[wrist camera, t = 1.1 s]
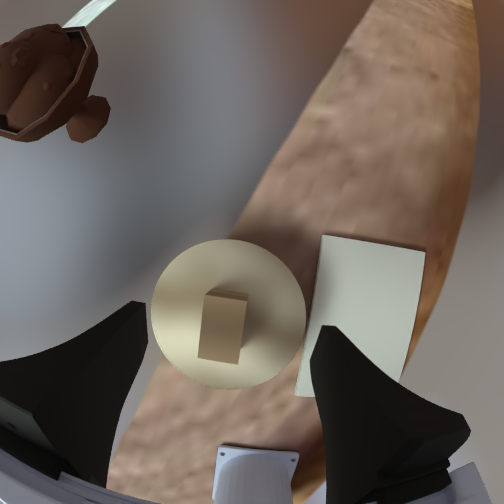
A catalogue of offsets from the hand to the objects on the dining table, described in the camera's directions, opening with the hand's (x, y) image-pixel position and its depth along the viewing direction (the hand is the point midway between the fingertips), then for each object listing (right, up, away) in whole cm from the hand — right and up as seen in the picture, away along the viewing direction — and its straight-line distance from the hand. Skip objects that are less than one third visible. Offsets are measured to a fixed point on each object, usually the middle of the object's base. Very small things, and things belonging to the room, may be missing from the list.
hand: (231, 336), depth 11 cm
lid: (-1, -1, +9) cm, 9 cm away
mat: (+11, -3, +12) cm, 16 cm away
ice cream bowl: (-16, +17, +13) cm, 26 cm away
